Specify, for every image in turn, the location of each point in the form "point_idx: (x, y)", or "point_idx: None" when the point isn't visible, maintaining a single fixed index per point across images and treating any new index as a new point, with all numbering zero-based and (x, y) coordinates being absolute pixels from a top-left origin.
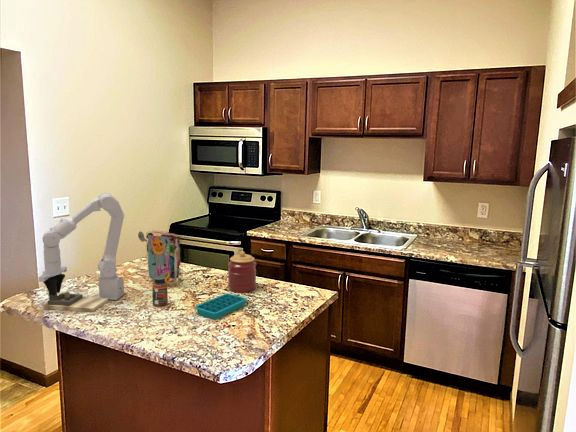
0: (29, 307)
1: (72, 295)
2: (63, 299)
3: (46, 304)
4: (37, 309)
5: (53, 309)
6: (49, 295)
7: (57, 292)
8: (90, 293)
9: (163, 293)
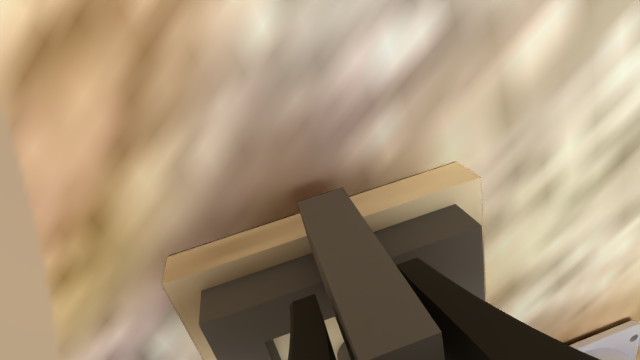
0: (87, 49)
1: None
2: None
3: (195, 277)
4: (112, 203)
5: None
6: (314, 251)
7: None
8: (620, 245)
9: None
